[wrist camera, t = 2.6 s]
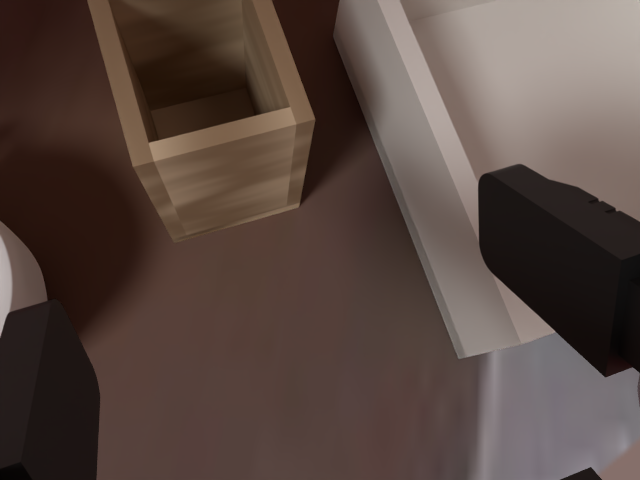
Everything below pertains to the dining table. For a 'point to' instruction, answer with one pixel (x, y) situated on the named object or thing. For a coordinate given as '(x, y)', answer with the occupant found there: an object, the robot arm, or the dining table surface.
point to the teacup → (18, 275)
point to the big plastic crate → (493, 126)
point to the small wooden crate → (207, 108)
